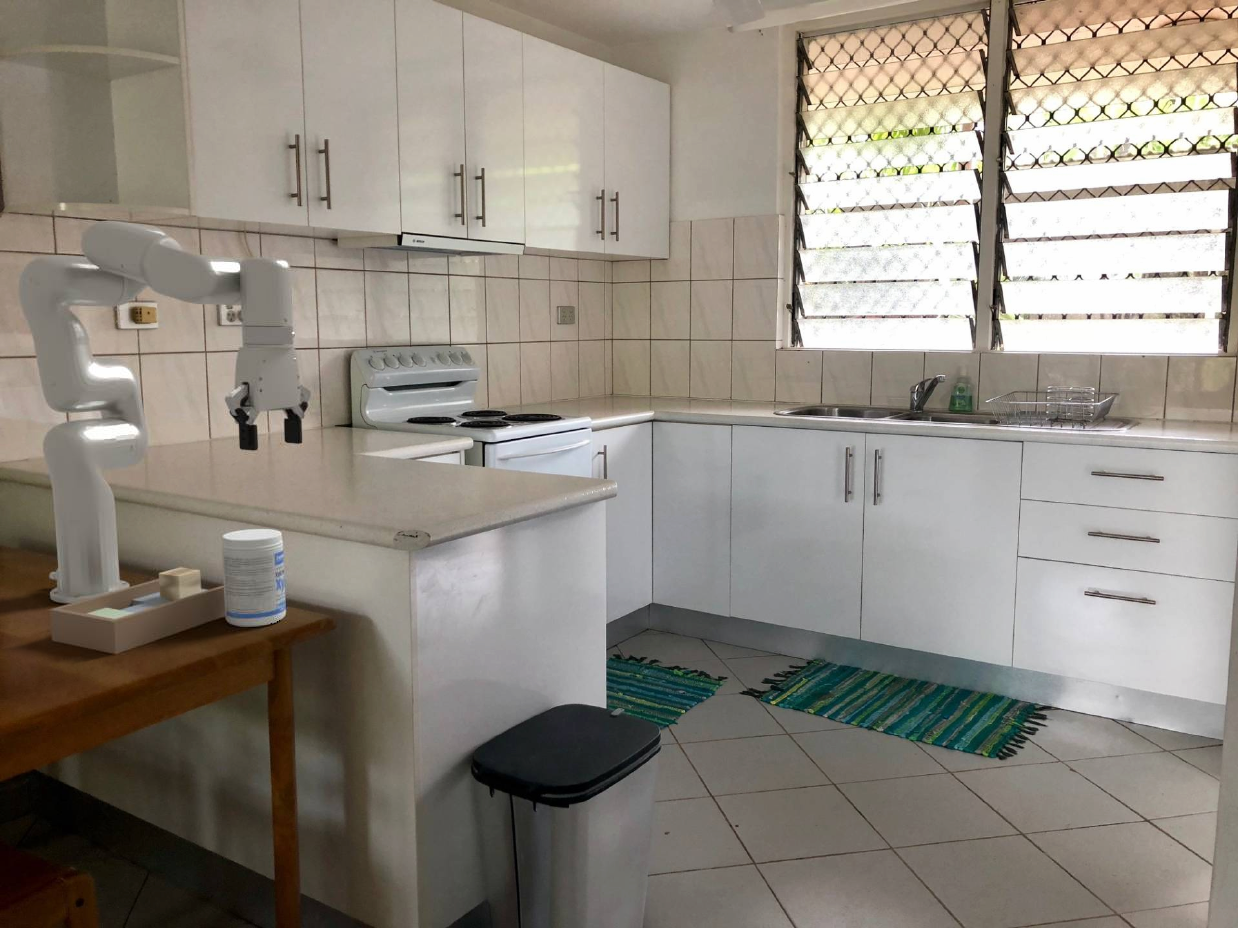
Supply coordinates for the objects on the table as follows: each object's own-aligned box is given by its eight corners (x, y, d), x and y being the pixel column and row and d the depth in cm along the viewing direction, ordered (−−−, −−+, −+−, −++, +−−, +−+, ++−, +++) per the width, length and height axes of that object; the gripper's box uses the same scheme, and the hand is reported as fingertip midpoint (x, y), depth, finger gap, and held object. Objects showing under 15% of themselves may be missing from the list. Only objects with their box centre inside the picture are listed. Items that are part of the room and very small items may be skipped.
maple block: (160, 599, 162) (158, 573, 162) (181, 592, 166) (180, 567, 166) (180, 602, 161) (178, 576, 160) (201, 595, 165) (200, 570, 164)
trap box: (51, 640, 150) (49, 609, 149) (177, 601, 172) (176, 573, 171) (116, 654, 144) (114, 621, 144) (237, 611, 166) (236, 583, 166)
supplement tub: (292, 622, 161) (289, 536, 159) (232, 632, 155) (228, 542, 153) (277, 608, 169) (274, 525, 166) (219, 616, 163) (215, 531, 161)
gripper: (288, 337, 161) (292, 439, 163) (206, 338, 145) (211, 451, 148) (324, 338, 158) (327, 442, 160) (244, 339, 142) (248, 454, 145)
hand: (271, 446), depth 154 cm, fingers open, 9 cm apart
